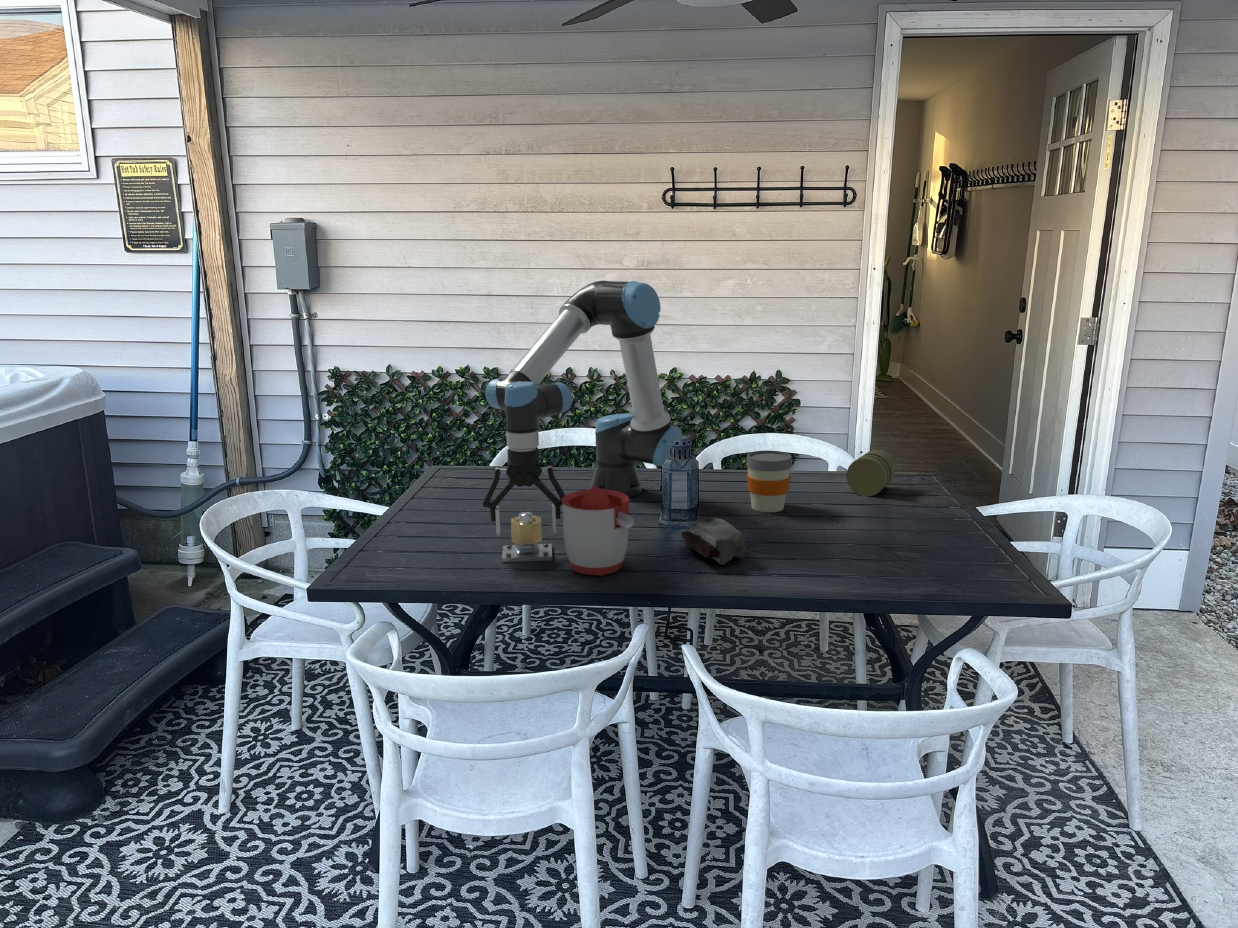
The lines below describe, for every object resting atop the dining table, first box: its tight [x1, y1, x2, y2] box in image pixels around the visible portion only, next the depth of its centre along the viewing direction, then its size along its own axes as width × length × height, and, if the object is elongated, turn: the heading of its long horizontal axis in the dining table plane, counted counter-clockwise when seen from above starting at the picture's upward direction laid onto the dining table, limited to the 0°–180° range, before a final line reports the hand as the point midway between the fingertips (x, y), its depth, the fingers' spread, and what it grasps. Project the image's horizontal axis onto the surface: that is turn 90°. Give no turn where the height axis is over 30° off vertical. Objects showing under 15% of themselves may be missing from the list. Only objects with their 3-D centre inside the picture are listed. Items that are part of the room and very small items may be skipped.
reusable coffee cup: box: [745, 450, 793, 513], centre depth 260 cm, size 13×13×15 cm
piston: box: [845, 449, 896, 497], centre depth 275 cm, size 11×12×11 cm
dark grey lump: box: [681, 516, 746, 566], centre depth 225 cm, size 18×11×8 cm, turn 21°
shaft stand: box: [501, 511, 553, 563], centre depth 226 cm, size 12×9×10 cm
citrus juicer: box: [561, 486, 635, 577], centre depth 216 cm, size 16×17×20 cm
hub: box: [510, 514, 543, 545], centre depth 226 cm, size 7×7×5 cm
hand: (526, 532), depth 226 cm, fingers open, 13 cm apart
